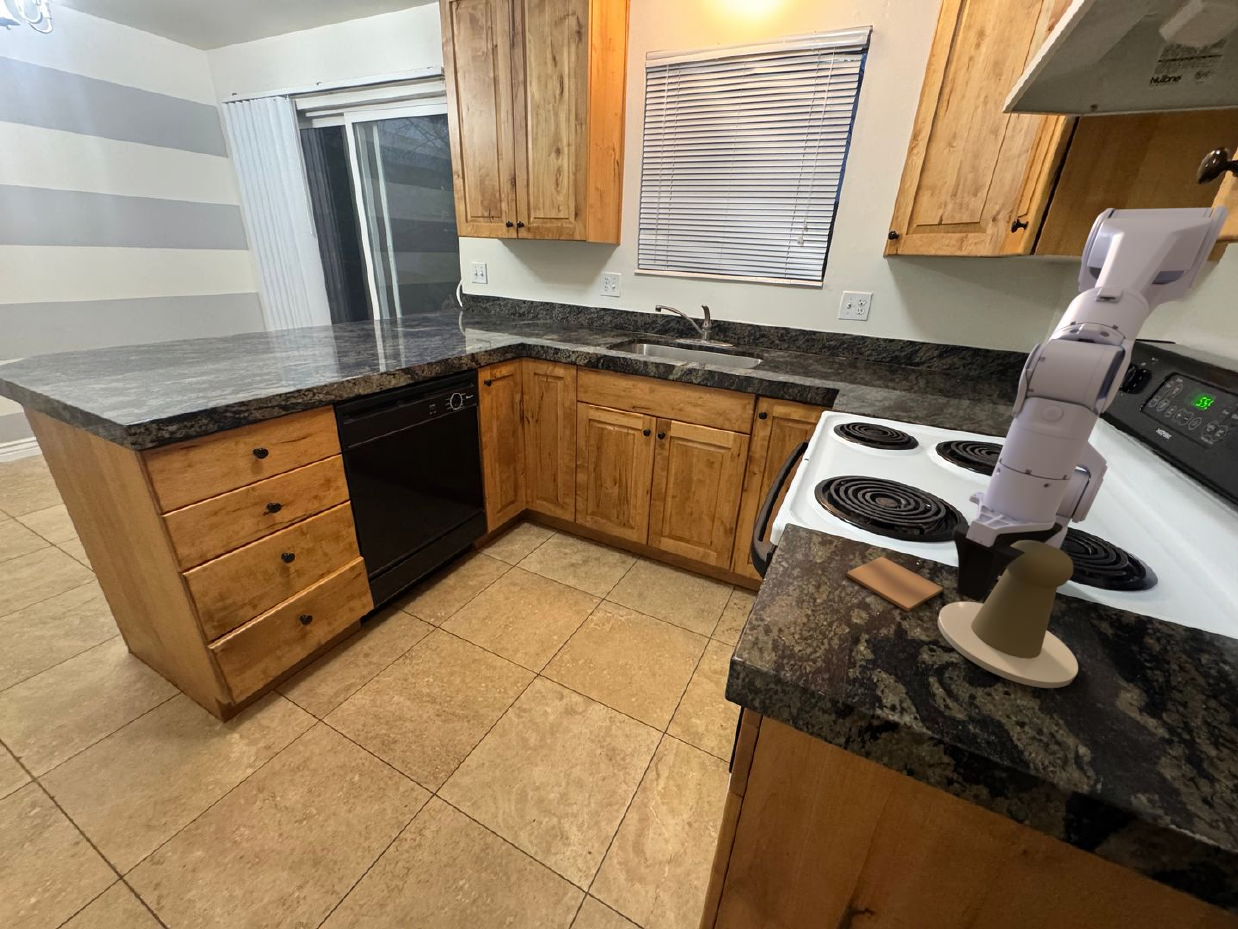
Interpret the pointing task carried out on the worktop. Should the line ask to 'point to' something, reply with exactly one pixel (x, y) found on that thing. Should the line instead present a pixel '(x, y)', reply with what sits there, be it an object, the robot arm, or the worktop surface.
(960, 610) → the plate
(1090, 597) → the worktop surface
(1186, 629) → the worktop surface
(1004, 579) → the pepper shaker
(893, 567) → the cork trivet
